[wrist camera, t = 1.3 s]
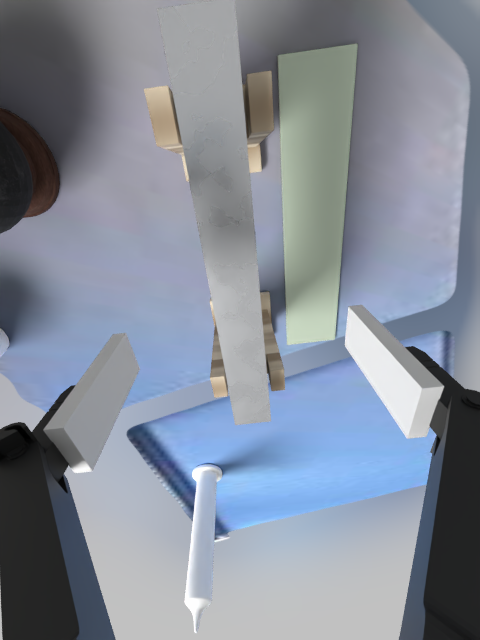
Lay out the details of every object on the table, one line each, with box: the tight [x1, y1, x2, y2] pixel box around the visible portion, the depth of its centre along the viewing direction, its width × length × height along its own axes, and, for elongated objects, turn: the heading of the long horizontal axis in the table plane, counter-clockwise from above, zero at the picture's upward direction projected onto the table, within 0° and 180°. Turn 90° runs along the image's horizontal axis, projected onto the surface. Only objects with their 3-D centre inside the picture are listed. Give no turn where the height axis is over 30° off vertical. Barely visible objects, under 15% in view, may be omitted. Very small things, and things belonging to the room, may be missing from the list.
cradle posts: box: [144, 71, 285, 398], centre depth 29 cm, size 32×9×15 cm, turn 7°
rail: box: [157, 0, 271, 425], centre depth 23 cm, size 32×4×5 cm, turn 7°
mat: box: [277, 43, 358, 345], centre depth 35 cm, size 36×8×1 cm, turn 7°
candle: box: [185, 464, 222, 633], centre depth 52 cm, size 7×7×25 cm
